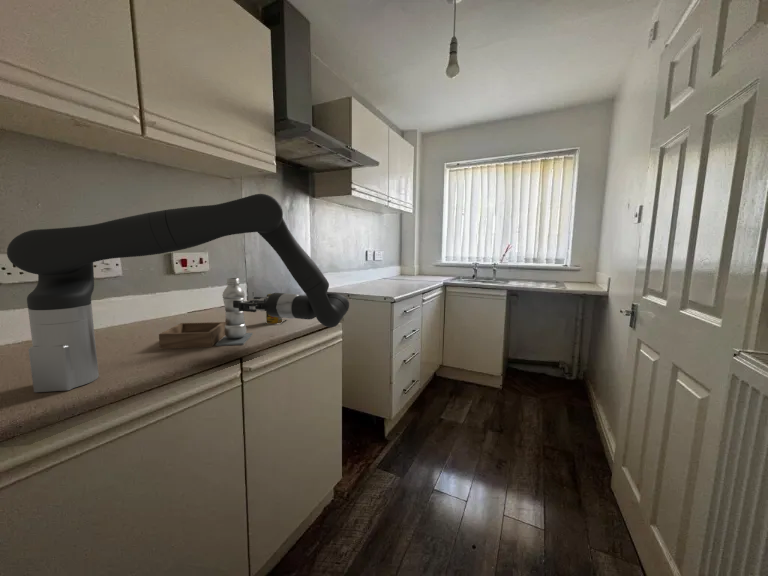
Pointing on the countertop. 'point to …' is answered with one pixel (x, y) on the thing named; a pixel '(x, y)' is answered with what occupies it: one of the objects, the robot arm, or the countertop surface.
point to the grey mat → (234, 340)
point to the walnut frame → (192, 335)
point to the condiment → (272, 318)
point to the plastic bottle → (233, 310)
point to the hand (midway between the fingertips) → (244, 301)
